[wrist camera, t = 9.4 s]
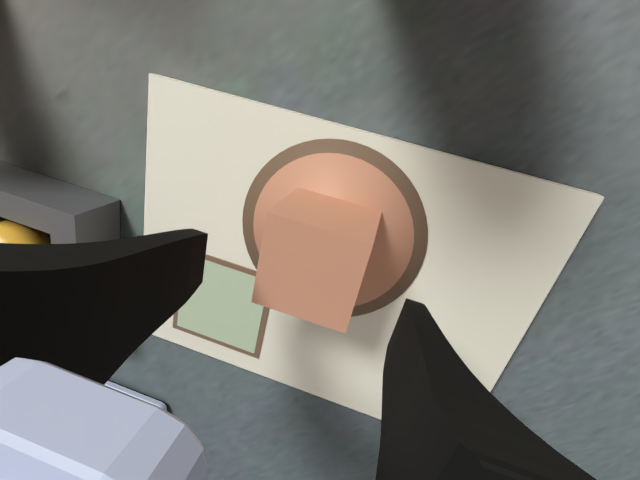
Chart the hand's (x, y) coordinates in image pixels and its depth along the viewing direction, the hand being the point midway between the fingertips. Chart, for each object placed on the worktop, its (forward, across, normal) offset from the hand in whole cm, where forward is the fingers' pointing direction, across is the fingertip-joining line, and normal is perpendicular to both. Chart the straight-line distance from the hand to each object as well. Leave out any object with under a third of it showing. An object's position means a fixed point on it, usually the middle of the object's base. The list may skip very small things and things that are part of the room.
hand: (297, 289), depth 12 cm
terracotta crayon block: (+5, 0, 0) cm, 5 cm away
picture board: (+6, 0, +2) cm, 6 cm away
